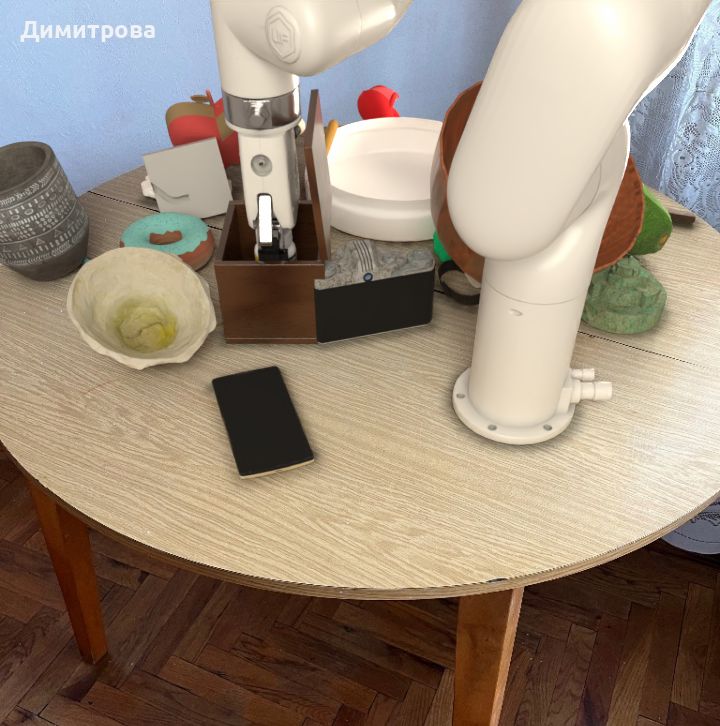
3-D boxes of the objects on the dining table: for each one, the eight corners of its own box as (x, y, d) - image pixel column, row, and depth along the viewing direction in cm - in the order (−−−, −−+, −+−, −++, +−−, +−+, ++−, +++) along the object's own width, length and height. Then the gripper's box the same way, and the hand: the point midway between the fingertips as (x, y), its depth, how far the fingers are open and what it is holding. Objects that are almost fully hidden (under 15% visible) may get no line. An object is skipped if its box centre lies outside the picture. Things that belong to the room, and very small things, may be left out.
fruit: (700, 197, 96) (671, 236, 91) (655, 256, 104) (626, 294, 99) (599, 131, 98) (564, 165, 93) (563, 194, 106) (530, 228, 101)
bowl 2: (360, 221, 89) (393, 154, 78) (474, 111, 99) (517, 39, 89) (523, 366, 90) (577, 318, 79) (619, 242, 100) (679, 186, 90)
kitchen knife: (697, 211, 106) (696, 217, 104) (695, 218, 106) (693, 224, 105) (564, 190, 111) (561, 195, 109) (563, 197, 111) (560, 202, 110)
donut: (192, 225, 106) (187, 197, 103) (232, 265, 99) (228, 237, 96) (109, 252, 102) (101, 223, 99) (145, 295, 95) (137, 267, 92)
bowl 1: (113, 413, 81) (87, 335, 73) (70, 343, 89) (43, 266, 81) (242, 364, 86) (231, 287, 79) (191, 302, 94) (176, 226, 87)
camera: (417, 292, 95) (421, 217, 87) (436, 324, 90) (442, 247, 83) (299, 313, 92) (293, 237, 85) (313, 347, 88) (308, 270, 80)
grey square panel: (235, 226, 108) (233, 220, 111) (234, 139, 103) (232, 135, 106) (146, 224, 106) (147, 218, 109) (140, 135, 100) (141, 131, 103)
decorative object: (189, 184, 115) (161, 128, 100) (183, 161, 115) (155, 101, 100) (278, 163, 115) (264, 104, 100) (273, 140, 115) (258, 77, 100)
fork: (341, 116, 113) (323, 180, 99) (342, 129, 114) (324, 194, 100) (324, 115, 113) (303, 179, 99) (325, 128, 114) (304, 193, 100)
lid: (303, 147, 72) (311, 147, 72) (310, 89, 81) (318, 88, 81) (320, 261, 81) (327, 260, 80) (325, 196, 90) (332, 196, 90)
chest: (226, 344, 89) (213, 264, 81) (239, 277, 98) (229, 200, 90) (328, 344, 88) (324, 264, 81) (332, 277, 98) (328, 200, 90)
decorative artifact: (569, 284, 96) (581, 333, 89) (580, 232, 91) (593, 280, 84) (651, 285, 96) (669, 335, 89) (667, 234, 91) (687, 282, 84)
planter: (-7, 274, 100) (-67, 184, 90) (66, 222, 105) (17, 132, 95) (44, 302, 94) (-15, 209, 84) (120, 246, 98) (73, 152, 89)
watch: (495, 302, 93) (499, 275, 91) (463, 314, 92) (466, 287, 89) (458, 271, 98) (460, 245, 95) (427, 282, 96) (428, 256, 94)
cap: (359, 111, 129) (350, 131, 126) (363, 76, 124) (353, 96, 121) (405, 123, 129) (397, 143, 126) (411, 88, 124) (403, 108, 121)
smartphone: (239, 476, 73) (210, 377, 83) (241, 484, 74) (211, 385, 83) (315, 458, 74) (277, 363, 84) (316, 466, 75) (278, 371, 85)
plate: (267, 205, 110) (263, 167, 106) (374, 135, 124) (374, 100, 120) (431, 264, 99) (433, 225, 95) (526, 180, 114) (532, 143, 110)
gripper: (295, 142, 70) (306, 311, 83) (305, 70, 81) (314, 229, 95) (211, 142, 70) (236, 311, 83) (233, 70, 81) (252, 229, 95)
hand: (277, 266), depth 89 cm, fingers closed on supplement bottle, 4 cm apart
